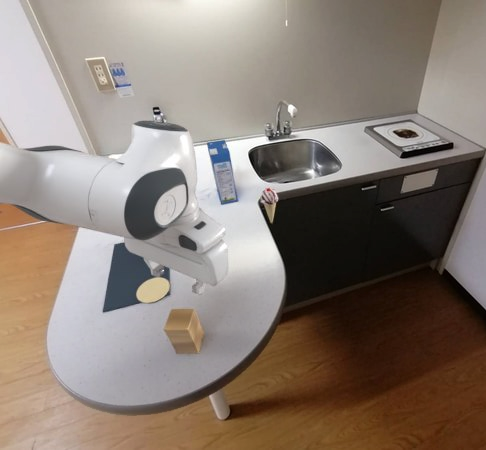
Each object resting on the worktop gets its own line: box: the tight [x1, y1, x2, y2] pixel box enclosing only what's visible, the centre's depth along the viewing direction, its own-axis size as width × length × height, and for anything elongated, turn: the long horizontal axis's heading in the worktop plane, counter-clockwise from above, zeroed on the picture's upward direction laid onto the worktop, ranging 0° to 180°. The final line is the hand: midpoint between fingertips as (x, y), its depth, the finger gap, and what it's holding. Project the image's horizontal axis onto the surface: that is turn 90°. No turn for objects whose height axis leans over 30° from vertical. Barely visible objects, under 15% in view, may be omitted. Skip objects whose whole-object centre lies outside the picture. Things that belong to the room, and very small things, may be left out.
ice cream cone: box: [259, 187, 279, 226], centre depth 98 cm, size 6×6×15 cm
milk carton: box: [206, 139, 239, 206], centre depth 109 cm, size 10×6×20 cm, turn 20°
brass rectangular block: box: [163, 308, 205, 354], centre depth 67 cm, size 5×5×10 cm
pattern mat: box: [102, 241, 171, 313], centre depth 88 cm, size 27×16×1 cm, turn 19°
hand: (177, 282), depth 58 cm, fingers open, 8 cm apart
